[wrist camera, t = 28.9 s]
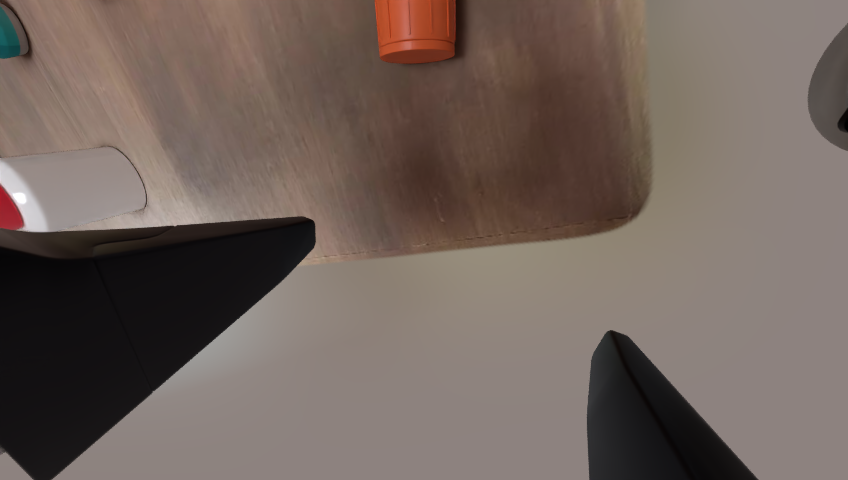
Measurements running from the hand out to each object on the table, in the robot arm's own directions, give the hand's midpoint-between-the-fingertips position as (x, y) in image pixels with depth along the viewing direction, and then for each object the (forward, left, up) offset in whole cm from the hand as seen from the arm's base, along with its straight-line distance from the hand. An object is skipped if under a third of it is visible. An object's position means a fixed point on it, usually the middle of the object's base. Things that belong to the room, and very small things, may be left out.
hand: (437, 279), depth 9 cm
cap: (+7, -9, -10) cm, 15 cm away
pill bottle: (+44, +11, -12) cm, 47 cm away
